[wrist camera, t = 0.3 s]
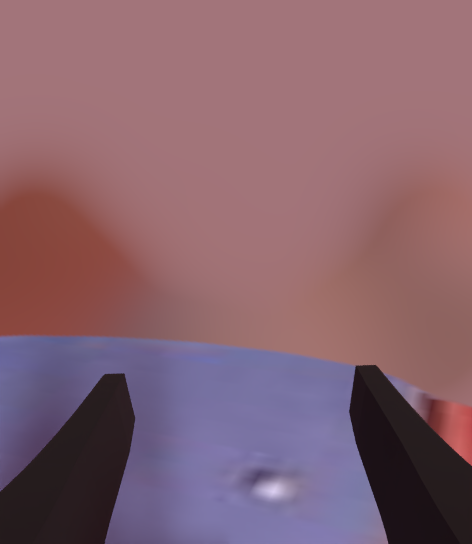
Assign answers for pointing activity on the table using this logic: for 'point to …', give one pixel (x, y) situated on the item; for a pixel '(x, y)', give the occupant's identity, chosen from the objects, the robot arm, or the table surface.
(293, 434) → the table surface
